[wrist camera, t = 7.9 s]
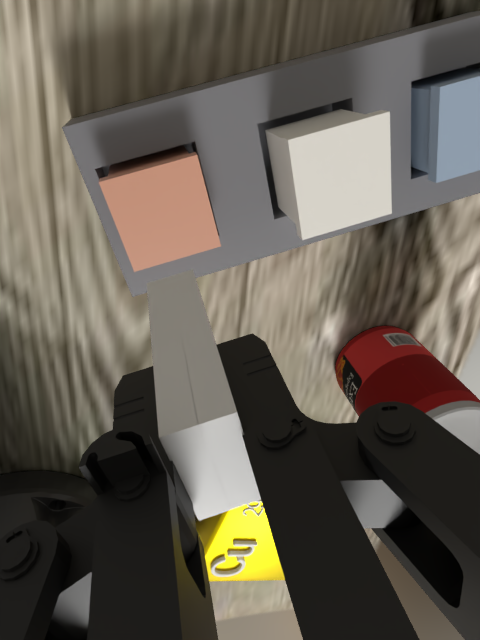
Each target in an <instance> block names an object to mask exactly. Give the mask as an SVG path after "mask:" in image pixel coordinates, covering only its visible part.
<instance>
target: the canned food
mask: <svg viewBox="0 0 480 640" xmlns="http://www.w3.org/2000/svg"><path fill="white" fill-rule="evenodd" d="M335 370H336V378H337V381H338V384H339V386H340V388H341V389H342V391H343V392H344V394H345V395H346V397H347V399H348V400H349V402H350V403H351V405H352V406H353V408H354V410H355V411H356V413H357V414H358V416H360V414H361V413H362V412H364V411H365V410H366V409H367V408H368V407H370V406H372V405H375V404H378V403H380V402H392V401H396V402H401V403H406V404H410V405H412V406H414V407H416V408H417V409H419V410H421V411H423V412H424V413H425V414H427V415H428V416H429V417H431V418H432V419H433V420H435V421H436V422H437V423H439V424H440V425H441V426H443V427H444V428H445V429H447V430H448V431H449V432H451V433H452V434H453V435H455V436H456V437H457V438H458V439H460V440H461V441H462V442H464V443H465V444H466V445H468V446H469V447H470V448H472V449H473V450H474V451H476V452H477V453H478V454H480V400H479V399H478V398H477V397H476V396H475V395H474V394H473V393H472V392H471V391H470V390H469V389H468V388H467V387H465V385H464V384H463V383H462V382H460V381H459V380H458V379H457V378H456V377H455V376H454V375H453V374H452V373H451V372H450V371H449V370H448V369H447V368H446V367H445V366H444V365H443V364H442V363H441V362H440V361H438V360H437V359H436V358H435V357H434V356H433V355H432V354H431V353H430V352H429V351H428V350H427V349H426V348H425V347H424V346H423V345H422V344H421V343H420V342H419V341H418V340H416V339H415V338H414V337H413V336H412V335H411V334H410V333H408V332H407V331H405V330H402V329H400V328H397V327H393V326H378V327H374V328H371V329H368V330H366V331H364V332H362V333H360V334H358V335H357V336H355V337H354V338H353V339H352V340H350V341H349V342H348V343H347V344H346V346H345V347H344V348H343V349H342V351H341V352H340V354H339V356H338V358H337V361H336V366H335Z"/></svg>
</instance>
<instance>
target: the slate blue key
mask: <svg viewBox="0 0 480 640" xmlns="http://www.w3.org/2000/svg"><path fill="white" fill-rule="evenodd" d="M411 167H413V168H416V169H419V170H421V171H424V172H427V173H428V180H430V181H432V182H435V183H438V182H441V181H445V180H448V179H452V178H455V177H458V176H462V175H465V174H469V173H472V172H475V171H479V170H480V68H460V69H457V70H453V71H450V72H446V73H442V74H439V75H435V76H431V77H428V78H424V79H421V80H417V81H413V82H411Z"/></svg>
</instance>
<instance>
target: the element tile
mask: <svg viewBox="0 0 480 640" xmlns="http://www.w3.org/2000/svg"><path fill="white" fill-rule="evenodd" d="M196 530H197V532H198V534H199V536H200V539H201V541H202V544H203V546H204V553H205V559H206V565H207V572H208V578H209V581H257V580H285V577H284V574H283V571H282V567H281V564H280V561H279V557H278V554H277V551H276V547H275V544H274V541H273V537H272V534H271V531H270V527H269V524H268V521H267V517H266V514H265V511H264V507H263V504H262V501H261V500H258V501H255V502H252V503H249V504H247V505H244V506H241V507H238V508H235V509H232V510H229V511H226V512H223V513H220V514H218V515H215V516H212V517H209V518H206V519H203V520H200V521H199V520H198V519H197V521H196Z"/></svg>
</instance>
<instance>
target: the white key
mask: <svg viewBox="0 0 480 640" xmlns="http://www.w3.org/2000/svg"><path fill="white" fill-rule="evenodd" d="M265 132H266V138H267V144H268V149H269V155H270V161H271V167H272V173H273V179H274V185H275V190H276V196H277V202H278V207H279V208H280V209H281V210H282V211H283V212H284V213H285V214H286V215H287V216H288V217H289V218H290V219H291V220H292V221H293V222H294V223H295V224H296V229H297V235H298V236H299V237H300V238H301V239H302V240H305V239H308V238H312V237H315V236H318V235H322V234H325V233H328V232H332V231H335V230H338V229H342V228H345V227H349V226H352V225H355V224H359V223H362V222H365V221H369V220H372V219H375V218H379V217H382V216H385V215H389V214H392V199H391V146H390V111H385V110H379V111H376V112H372V113H368V114H361V113H357V112H352V111H347V110H343V109H339V110H336V111H332V112H328V113H325V114H321V115H318V116H314V117H311V118H307V119H303V120H300V121H296V122H293V123H289V124H285V125H282V126H278V127H275V128H271V129H267V130H265Z"/></svg>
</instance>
